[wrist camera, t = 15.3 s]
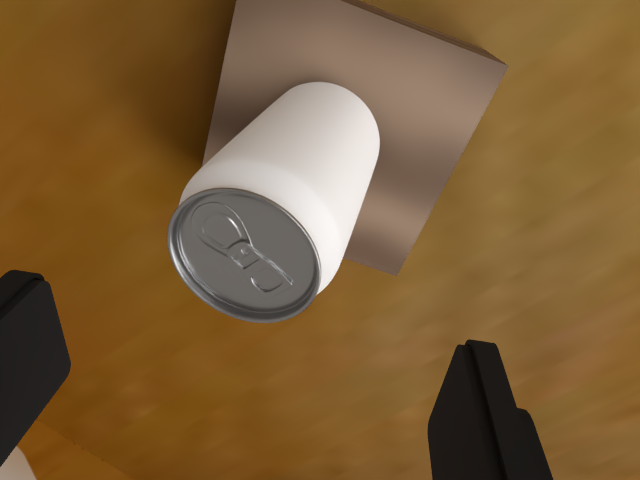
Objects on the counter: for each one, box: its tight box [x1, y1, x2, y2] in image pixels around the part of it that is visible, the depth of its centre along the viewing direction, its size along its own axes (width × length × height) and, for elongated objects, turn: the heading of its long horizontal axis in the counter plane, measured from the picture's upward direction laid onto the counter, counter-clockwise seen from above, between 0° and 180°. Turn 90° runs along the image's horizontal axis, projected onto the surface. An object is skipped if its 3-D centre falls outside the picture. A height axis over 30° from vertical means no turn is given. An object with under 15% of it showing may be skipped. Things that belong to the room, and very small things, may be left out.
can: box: [167, 82, 380, 323], centre depth 20 cm, size 6×6×12 cm
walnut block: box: [202, 0, 508, 276], centre depth 28 cm, size 14×14×6 cm
